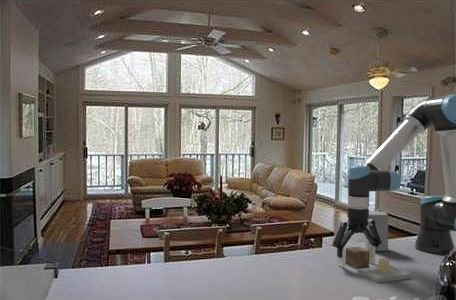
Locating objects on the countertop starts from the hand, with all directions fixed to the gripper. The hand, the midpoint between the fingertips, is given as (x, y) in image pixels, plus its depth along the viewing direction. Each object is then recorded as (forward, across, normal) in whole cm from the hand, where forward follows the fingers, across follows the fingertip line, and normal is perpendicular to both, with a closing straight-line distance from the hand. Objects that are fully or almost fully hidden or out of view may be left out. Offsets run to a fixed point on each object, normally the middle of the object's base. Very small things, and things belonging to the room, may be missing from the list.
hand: (356, 264), depth 156 cm
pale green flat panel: (0, -1, +13) cm, 13 cm away
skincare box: (0, -22, -16) cm, 27 cm away
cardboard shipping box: (0, 0, 0) cm, 0 cm away
